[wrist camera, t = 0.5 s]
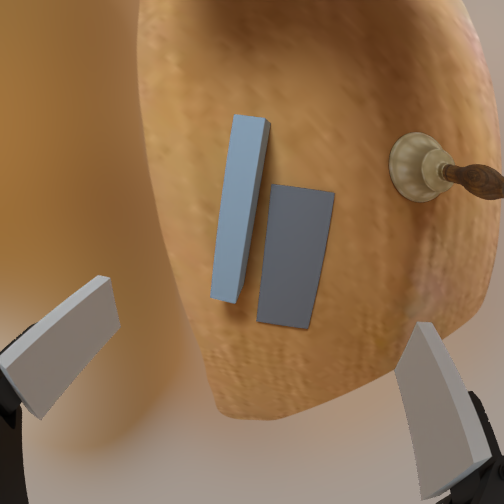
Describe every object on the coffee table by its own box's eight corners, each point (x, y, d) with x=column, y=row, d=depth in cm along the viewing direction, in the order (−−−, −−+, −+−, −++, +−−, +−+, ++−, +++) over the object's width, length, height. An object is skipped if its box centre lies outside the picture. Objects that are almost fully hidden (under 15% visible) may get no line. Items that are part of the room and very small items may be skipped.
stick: (244, 119, 28) (234, 114, 24) (271, 123, 28) (265, 118, 23) (221, 278, 36) (210, 297, 31) (244, 283, 35) (235, 303, 31)
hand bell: (437, 127, 24) (526, 122, 9) (452, 193, 26) (538, 231, 11) (379, 139, 26) (450, 133, 11) (397, 209, 28) (468, 262, 14)
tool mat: (272, 184, 30) (271, 184, 29) (333, 192, 29) (334, 193, 29) (257, 318, 37) (256, 321, 36) (307, 326, 36) (307, 328, 35)
